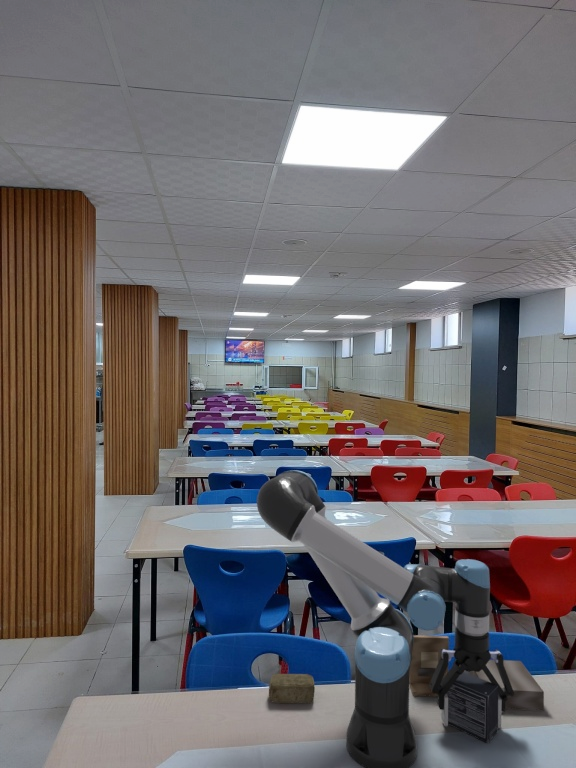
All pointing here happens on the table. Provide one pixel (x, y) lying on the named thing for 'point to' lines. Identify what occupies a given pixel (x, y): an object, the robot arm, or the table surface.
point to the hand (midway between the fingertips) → (470, 723)
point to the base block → (516, 685)
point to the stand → (425, 663)
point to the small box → (473, 706)
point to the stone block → (291, 688)
